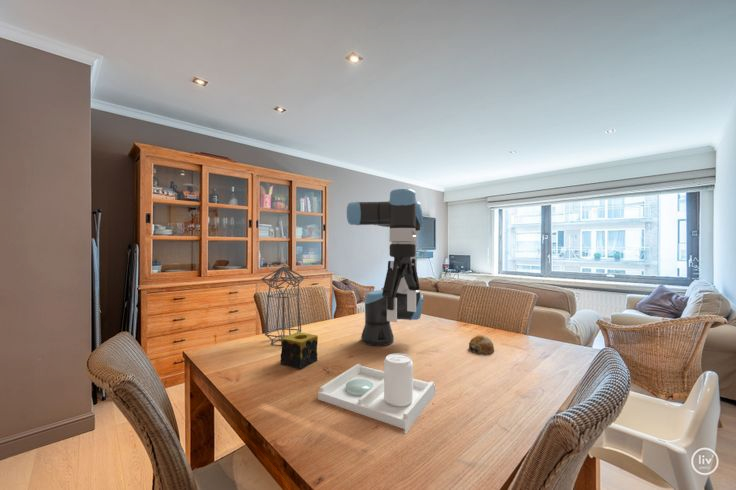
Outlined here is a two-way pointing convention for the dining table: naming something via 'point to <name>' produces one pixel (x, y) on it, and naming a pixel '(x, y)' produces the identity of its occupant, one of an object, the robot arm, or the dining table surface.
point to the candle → (299, 350)
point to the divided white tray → (377, 397)
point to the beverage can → (398, 379)
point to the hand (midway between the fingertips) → (402, 316)
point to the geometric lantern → (282, 299)
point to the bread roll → (481, 345)
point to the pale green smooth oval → (358, 387)
